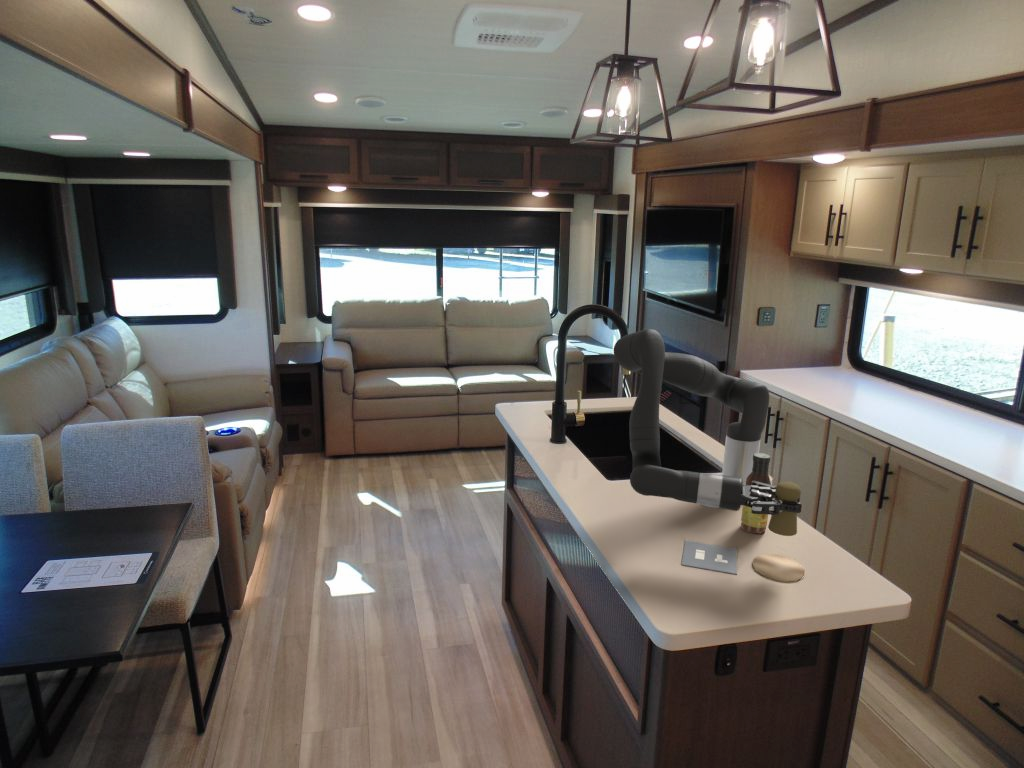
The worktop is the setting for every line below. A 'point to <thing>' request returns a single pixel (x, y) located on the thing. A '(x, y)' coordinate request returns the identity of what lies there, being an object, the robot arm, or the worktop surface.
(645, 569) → the worktop surface
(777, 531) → the pepper shaker
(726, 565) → the tile
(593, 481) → the worktop surface
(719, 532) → the worktop surface
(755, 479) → the sauce bottle
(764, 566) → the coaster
